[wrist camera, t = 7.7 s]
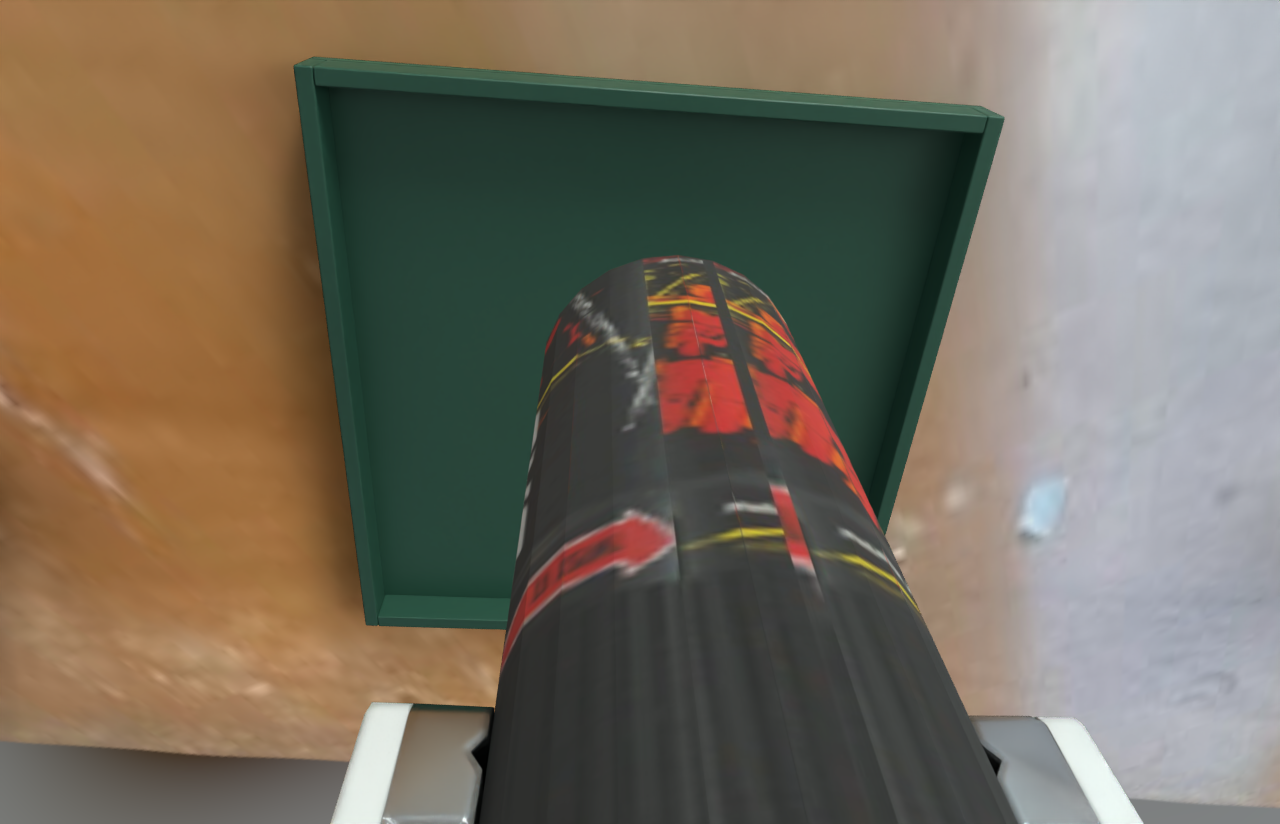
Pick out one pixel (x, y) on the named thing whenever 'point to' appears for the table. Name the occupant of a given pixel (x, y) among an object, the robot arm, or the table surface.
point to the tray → (583, 251)
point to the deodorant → (711, 589)
